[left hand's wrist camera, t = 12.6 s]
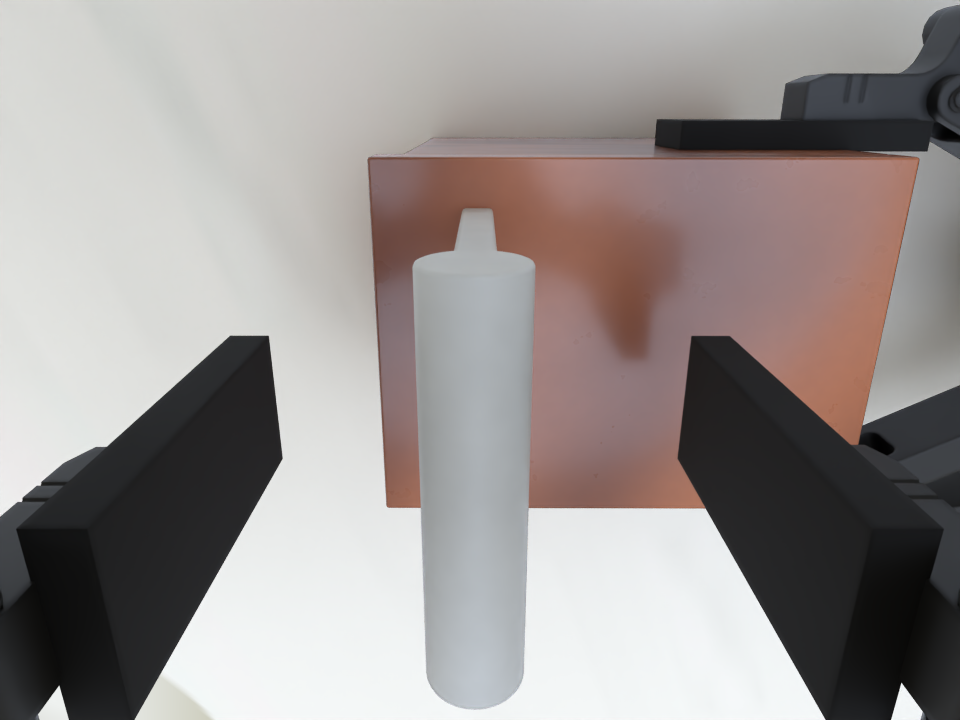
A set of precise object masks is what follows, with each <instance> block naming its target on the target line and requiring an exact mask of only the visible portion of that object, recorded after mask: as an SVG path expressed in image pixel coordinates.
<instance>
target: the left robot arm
mask: <svg viewBox="0 0 960 720" xmlns="http://www.w3.org/2000/svg"><path fill="white" fill-rule="evenodd" d="M282 459H283V458H282V449H281V440H280V431H279V423H278V414H277V405H276V396H275V387H274V378H273V370H272V361H271V352H270V343H269V336H230V337H228V338H227V339H226V340H225V341H224V342H223V343H222V344H221V345H220V346H218V347H217V348H216V349H215V350H214V351H213V352H212V353H211V354H210V355H208V356H207V357H206V358H205V359H204V360H203V361H202V362H201V363H200V364H198V365H197V366H196V367H195V368H194V369H193V370H192V371H191V372H190V373H188V374H187V375H186V376H185V377H184V378H183V379H182V380H181V381H180V382H178V383H177V384H176V385H175V386H174V387H173V388H172V389H171V390H170V391H168V392H167V393H166V394H165V395H164V396H163V397H162V398H161V399H160V400H158V401H157V402H156V403H155V404H154V405H153V406H152V407H151V408H150V409H148V410H147V411H146V412H145V413H144V414H143V415H142V416H141V417H140V418H138V419H137V420H136V421H135V422H134V423H133V424H132V425H131V426H130V427H128V428H127V429H126V430H125V431H124V432H123V433H122V434H121V435H120V436H118V437H117V438H116V439H115V440H114V441H113V442H112V443H111V444H110V445H108V446H107V447H95V448H93V449H91V450H89V451H87V452H85V453H83V454H81V455H79V456H77V457H75V458H73V459H71V460H69V461H67V462H65V463H63V464H62V465H61V466H60V467H59V468H57V469H56V470H55V471H54V472H53V473H51V474H50V475H49V476H48V477H47V478H46V479H44V480H43V481H42V482H41V486H36V487H35V488H34V489H33V490H31V491H30V492H29V493H28V494H27V495H25V496H24V497H23V501H22V502H17V503H16V504H15V505H14V506H12V507H11V508H10V509H9V510H8V511H7V512H5V513H4V514H3V515H2V516H1V517H0V720H39V717H38V713H39V712H40V711H41V709H42V708H43V707H44V705H45V704H46V703H47V701H48V700H49V698H50V697H51V696H52V694H53V693H54V692H55V690H56V689H57V688H58V686H60V689H61V693H62V696H63V700H64V704H65V707H66V711H67V714H68V718H69V720H134V719H135V718H136V716H137V714H138V712H139V711H140V709H141V707H142V705H143V704H144V702H145V700H146V698H147V697H148V695H149V693H150V691H151V689H152V688H153V686H154V684H155V682H156V681H157V679H158V677H159V675H160V674H161V672H162V670H163V668H164V667H165V665H166V663H167V661H168V660H169V658H170V656H171V654H172V653H173V651H174V649H175V647H176V646H177V644H178V642H179V640H180V638H181V637H182V635H183V633H184V631H185V630H186V628H187V626H188V624H189V623H190V621H191V619H192V617H193V616H194V614H195V612H196V610H197V609H198V607H199V605H200V603H201V601H202V600H203V598H204V596H205V594H206V593H207V591H208V589H209V587H210V586H211V584H212V582H213V580H214V579H215V577H216V575H217V573H218V572H219V570H220V568H221V566H222V565H223V563H224V561H225V559H226V557H227V556H228V554H229V552H230V550H231V549H232V547H233V545H234V543H235V542H236V540H237V538H238V536H239V535H240V533H241V531H242V529H243V528H244V526H245V524H246V522H247V520H248V519H249V517H250V515H251V513H252V512H253V510H254V508H255V506H256V505H257V503H258V501H259V499H260V498H261V496H262V494H263V492H264V491H265V489H266V487H267V485H268V483H269V482H270V480H271V478H272V476H273V475H274V473H275V471H276V469H277V468H278V466H279V464H280V462H281V461H282ZM677 459H678V461H679V462H680V464H681V466H682V468H683V469H684V471H685V473H686V475H687V476H688V478H689V480H690V482H691V483H692V485H693V487H694V489H695V491H696V492H697V494H698V496H699V498H700V499H701V501H702V503H703V505H704V506H705V508H706V510H707V512H708V513H709V515H710V517H711V519H712V520H713V522H714V524H715V526H716V528H717V529H718V531H719V533H720V535H721V536H722V538H723V540H724V542H725V543H726V545H727V547H728V549H729V550H730V552H731V554H732V556H733V557H734V559H735V561H736V563H737V564H738V566H739V568H740V570H741V572H742V573H743V575H744V577H745V579H746V580H747V582H748V584H749V586H750V587H751V589H752V591H753V593H754V594H755V596H756V598H757V600H758V601H759V603H760V605H761V607H762V609H763V610H764V612H765V614H766V616H767V617H768V619H769V621H770V623H771V624H772V626H773V628H774V630H775V631H776V633H777V635H778V637H779V638H780V640H781V642H782V644H783V646H784V647H785V649H786V651H787V653H788V654H789V656H790V658H791V660H792V661H793V663H794V665H795V667H796V668H797V670H798V672H799V674H800V675H801V677H802V679H803V681H804V682H805V684H806V686H807V688H808V690H809V691H810V693H811V695H812V697H813V698H814V700H815V702H816V704H817V705H818V707H819V709H820V711H821V712H822V714H823V716H824V718H825V719H826V720H891V718H892V714H893V711H894V707H895V704H896V700H897V696H898V693H899V689H900V686H901V682H902V684H903V685H904V687H905V688H906V689H907V691H908V692H909V693H910V695H911V696H912V697H913V699H914V700H915V701H916V703H917V704H918V706H919V707H920V708H921V710H922V711H923V713H922V717H921V720H960V513H959V512H957V511H956V510H955V509H954V508H953V507H951V506H950V505H949V504H948V503H947V502H946V501H944V500H943V499H938V495H937V494H936V493H935V492H934V491H932V490H931V489H930V488H929V487H928V486H926V485H925V484H924V483H920V482H919V479H918V478H917V477H916V476H915V475H913V474H912V473H911V472H910V471H909V470H907V469H906V468H905V467H904V466H903V465H901V464H900V463H899V462H898V461H896V460H894V459H892V458H890V457H888V456H886V455H884V454H882V453H880V452H878V451H876V450H874V449H872V448H870V447H868V446H866V445H850V444H849V443H848V442H847V441H846V440H845V439H844V438H843V437H842V436H840V435H839V434H838V433H837V432H836V431H835V430H834V429H833V428H832V427H830V426H829V425H828V424H827V423H826V422H825V421H824V420H823V419H822V418H820V417H819V416H818V415H817V414H816V413H815V412H814V411H813V410H812V409H810V408H809V407H808V406H807V405H806V404H805V403H804V402H803V401H802V400H800V399H799V398H798V397H797V396H796V395H795V394H794V393H793V392H792V391H790V390H789V389H788V388H787V387H786V386H785V385H784V384H783V383H782V382H780V381H779V380H778V379H777V378H776V377H775V376H774V375H773V374H772V373H770V372H769V371H768V370H767V369H766V368H765V367H764V366H763V365H762V364H760V363H759V362H758V361H757V360H756V359H755V358H754V357H753V356H752V355H750V354H749V353H748V352H747V351H746V350H745V349H744V348H743V347H742V346H741V345H739V344H738V343H737V342H736V341H735V340H734V339H733V338H732V337H731V336H691V343H690V352H689V361H688V370H687V379H686V387H685V396H684V405H683V414H682V423H681V431H680V440H679V449H678V458H677Z"/></svg>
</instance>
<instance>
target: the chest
mask: <svg viewBox="0 0 960 720" xmlns="http://www.w3.org/2000/svg"><path fill="white" fill-rule="evenodd" d="M405 154H650V155H887V154H881V153H871V152H862V151H852V150H677V149H672V148H667V147H662V146H656V145H655V138H431V139H430V140H429V141H427V142H425V143H423V144H421V145H420V146H418V147H416V148H414V149H412V150H410V151H409V152H407V153H405Z"/></svg>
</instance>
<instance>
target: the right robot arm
mask: <svg viewBox="0 0 960 720" xmlns="http://www.w3.org/2000/svg"><path fill="white" fill-rule="evenodd" d="M922 38H923V44H924V46H923V48H922V50H921V52H920V53H919V55H918V57H917V58H916V60H915V61H914V63H913V64H912V65H911V66H910V67H909V68H908V69H906V70H905V71H903V72H902V73H899V74H820V75H811V76H804V77H801V78H799V79H796V80H794V81H791V82H789V83H786V85H785V92H784V98H783V105H782V112H781V119H780V120H713V119H657V124H656V135H655V145H656V146H662V147H667V148H672V149H677V150H852V151H928V146H929V142H932V143H934V144H935V145H937V146H939V147H940V148H942V149H944V150H945V151H947V152H949V153H950V154H952V155H954V156H955V157H957V158H959V159H960V5H956V6H952V7H947V8H944V9H941V10H939V11H937V12H935V13H934V14H933V15H932V16H931V17H930V18H929V19H928V21H927V23H926V24H925V26H924V30H923V34H922ZM858 445H866V446H868V447H870V448H872V449H874V450H876V451H878V452H880V453H882V454H884V455H886V456H888V457H890V458H892V459H894V460H896V461H898V462H899V463H900V464H901V465H903V466H904V467H905V468H906V469H907V470H909V471H910V472H911V473H912V474H913V475H915V476H916V477H917V478H918V479H919V482H920V483H924V484H925V485H926V486H928V487H929V488H930V489H931V490H932V491H934V492H935V493H936V494H937V495H938V499H943V500H944V501H946V502H947V503H948V504H949V505H950V506H951V507H953V508H954V509H955V510H956V511H957V512H959V513H960V385H959V386H957V387H955V388H952V389H950V390H947V391H945V392H942V393H940V394H938V395H935V396H933V397H930V398H928V399H926V400H923V401H921V402H918V403H916V404H914V405H911V406H909V407H906V408H904V409H902V410H899V411H897V412H894V413H892V414H889V415H887V416H885V417H882V418H880V419H877V420H875V421H873V422H870V423H868V424H865V425H863V426H862V429H861V433H860V438H859V443H858Z"/></svg>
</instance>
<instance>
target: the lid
mask: <svg viewBox="0 0 960 720" xmlns="http://www.w3.org/2000/svg"><path fill="white" fill-rule="evenodd" d="M918 164H919V158H917V157H910V156H901V155H650V154H376V155H373V156H371V157H369V158H368V176H369V194H370V213H371V231H372V249H373V268H374V286H375V304H376V323H377V341H378V359H379V377H380V396H381V414H382V432H383V451H384V469H385V487H386V505H387V507H388V508H421V528H422V557H423V586H424V615H425V644H426V673H427V679H428V682H429V684H430V686H431V688H432V689H433V690H434V692H435V693H436V694H437V695H438V696H439V697H440V698H441V699H443V700H444V701H445V702H447V703H449V704H451V705H454V706H456V707H460V708H464V709H485V708H490V707H494V706H496V705H499V704H501V703H503V702H504V701H506V700H507V699H509V698H510V697H511V696H512V695H513V694H514V693H515V692H516V690H517V689H518V687H519V686H520V684H521V682H522V679H523V674H524V645H525V610H526V576H527V541H528V508H705V506H704V505H703V503H702V501H701V499H700V498H699V496H698V494H697V492H696V491H695V489H694V487H693V485H692V483H691V482H690V480H689V478H688V476H687V475H686V473H685V471H684V469H683V468H682V466H681V464H680V462H679V461H678V459H677V458H678V449H679V440H680V431H681V423H682V414H683V405H684V396H685V387H686V379H687V370H688V361H689V352H690V343H691V336H731V337H732V338H733V339H734V340H735V341H736V342H737V343H738V344H739V345H741V346H742V347H743V348H744V349H745V350H746V351H747V352H748V353H749V354H750V355H752V356H753V357H754V358H755V359H756V360H757V361H758V362H759V363H760V364H762V365H763V366H764V367H765V368H766V369H767V370H768V371H769V372H770V373H772V374H773V375H774V376H775V377H776V378H777V379H778V380H779V381H780V382H782V383H783V384H784V385H785V386H786V387H787V388H788V389H789V390H790V391H792V392H793V393H794V394H795V395H796V396H797V397H798V398H799V399H800V400H802V401H803V402H804V403H805V404H806V405H807V406H808V407H809V408H810V409H812V410H813V411H814V412H815V413H816V414H817V415H818V416H819V417H820V418H822V419H823V420H824V421H825V422H826V423H827V424H828V425H829V426H830V427H832V428H833V429H834V430H835V431H836V432H837V433H838V434H839V435H840V436H842V437H843V438H844V439H845V440H846V441H847V442H848V443H849V444H850V445H858V443H859V438H860V433H861V429H862V424H863V419H864V415H865V410H866V406H867V401H868V396H869V392H870V387H871V382H872V378H873V373H874V368H875V364H876V359H877V355H878V350H879V345H880V341H881V336H882V331H883V327H884V322H885V317H886V313H887V308H888V304H889V299H890V294H891V290H892V285H893V280H894V276H895V271H896V266H897V262H898V257H899V252H900V248H901V243H902V239H903V234H904V229H905V225H906V220H907V215H908V211H909V206H910V201H911V197H912V192H913V188H914V183H915V178H916V174H917V169H918Z"/></svg>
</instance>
